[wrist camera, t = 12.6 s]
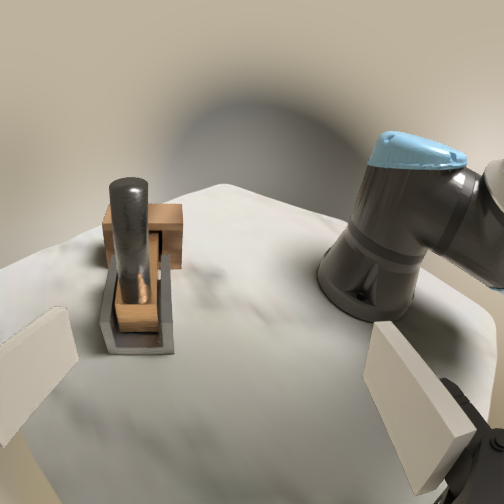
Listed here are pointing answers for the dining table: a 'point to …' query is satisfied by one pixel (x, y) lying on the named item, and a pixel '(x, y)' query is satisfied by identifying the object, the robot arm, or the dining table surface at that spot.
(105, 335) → the channel
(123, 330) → the mallet
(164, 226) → the socket block
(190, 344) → the dining table surface
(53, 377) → the robot arm
